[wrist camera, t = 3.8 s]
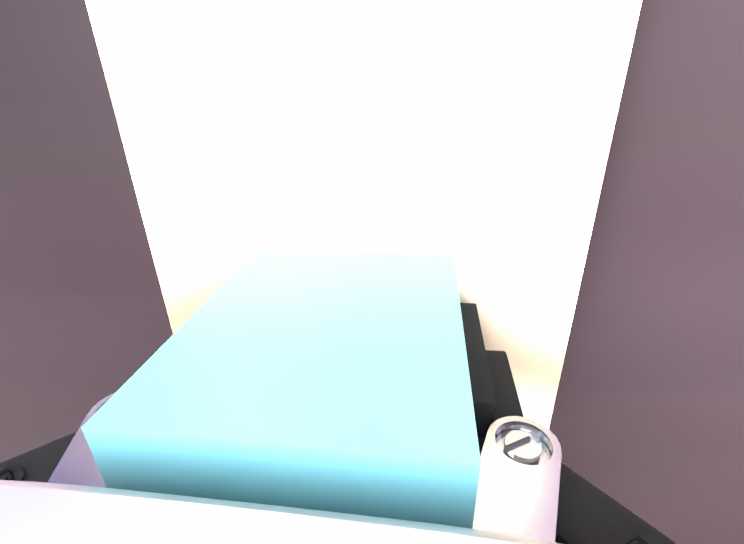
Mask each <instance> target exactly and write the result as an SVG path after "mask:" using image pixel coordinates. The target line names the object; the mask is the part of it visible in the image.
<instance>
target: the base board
mask: <svg viewBox="0 0 744 544" xmlns="http://www.w3.org/2000/svg"><path fill="white" fill-rule="evenodd" d="M85 2H86V6H87V10H88V14H89V17H90V21H91V25H92V29H93V33H94V36H95V40H96V44H97V48H98V51H99V55H100V59H101V63H102V67H103V70H104V74H105V78H106V82H107V86H108V89H109V93H110V97H111V101H112V105H113V108H114V112H115V116H116V120H117V124H118V127H119V131H120V135H121V139H122V142H123V146H124V150H125V154H126V158H127V161H128V165H129V169H130V173H131V177H132V180H133V184H134V188H135V192H136V196H137V199H138V203H139V207H140V211H141V215H142V218H143V222H144V226H145V230H146V234H147V237H148V241H149V245H150V249H151V252H152V256H153V260H154V264H155V268H156V271H157V275H158V279H159V283H160V287H161V290H162V294H163V298H164V302H165V306H166V309H167V313H168V317H169V321H170V325H171V328H172V332H173V334H174V333H175V332H176V331H177V330H178V329H179V328H180V327H181V326H182V325H183V324H184V323H185V322H186V321H187V320H188V319H189V318H190V317H191V316H192V315H193V314H194V313H195V312H196V311H197V310H198V309H199V308H200V307H201V306H202V305H203V304H204V303H205V302H206V301H207V300H208V299H209V298H210V297H211V296H212V295H213V294H214V293H215V292H216V291H217V290H218V289H219V288H220V287H221V286H222V285H223V284H224V283H225V282H226V281H227V280H228V279H229V278H230V277H231V276H232V275H233V274H234V273H235V272H236V271H237V270H238V268H239V267H240V266H241V265H242V264H243V263H244V262H245V261H246V260H247V259H248V258H249V257H250V256H251V255H252V254H253V253H254V252H255V251H256V250H257V249H280V250H312V251H345V252H377V253H409V254H441V255H454V261H455V269H456V277H457V284H458V292H459V299H460V303H476V305H477V310H478V315H479V320H480V325H481V330H482V335H483V340H484V345H485V350H497V351H505V352H506V354H507V357H508V361H509V365H510V368H511V372H512V376H513V379H514V383H515V387H516V390H517V394H518V398H519V401H520V405H521V409H522V412H523V416H524V417H526V418H529V419H532V420H534V421H537V422H539V423H541V424H542V425H544V426H545V427H547V428H548V429H549V426H550V421H551V417H552V412H553V408H554V403H555V399H556V394H557V389H558V385H559V380H560V376H561V371H562V366H563V362H564V357H565V353H566V348H567V343H568V339H569V334H570V330H571V325H572V320H573V316H574V311H575V307H576V302H577V298H578V293H579V288H580V284H581V279H582V275H583V270H584V265H585V261H586V256H587V252H588V247H589V242H590V238H591V233H592V229H593V224H594V220H595V215H596V210H597V206H598V201H599V197H600V192H601V187H602V183H603V178H604V174H605V169H606V164H607V160H608V155H609V151H610V146H611V141H612V137H613V132H614V128H615V123H616V119H617V114H618V109H619V105H620V100H621V96H622V91H623V86H624V82H625V77H626V73H627V68H628V63H629V59H630V54H631V50H632V45H633V41H634V36H635V31H636V27H637V22H638V18H639V13H640V8H641V4H642V0H85Z"/></svg>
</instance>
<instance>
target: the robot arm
mask: <svg viewBox="0 0 744 544" xmlns="http://www.w3.org/2000/svg"><path fill="white" fill-rule="evenodd" d="M460 307H461V315H462V322H463V330H464V338H465V345H466V353H467V361H468V368H469V376H470V383H471V391H472V399H473V406H474V414H475V422H476V429H477V437H478V444H479V452H480V460H481V467H480V475H479V483H478V490H477V498H476V506H475V513H474V521H473V529H472V528H464V527H457V526H449V525H441V524H434V523H426V522H417V521H408V520H399V519H391V518H382V517H373V516H364V515H356V514H347V513H338V512H330V511H321V510H312V509H303V508H294V507H284V506H275V505H266V504H257V503H248V502H239V501H229V500H220V499H211V498H201V497H192V496H182V495H173V494H163V493H153V492H143V491H133V490H124V489H114V488H106V485H105V483H104V481H103V478H102V476H101V473H100V471H99V469H98V466H97V464H96V462H95V459H94V457H93V455H92V452H91V450H90V447H89V445H88V443H87V440H86V438H85V436H84V433H83V431H82V429H81V427H82V426H83V425H84V424H85V423H86V422H87V421H88V420H89V419H90V418H91V417H92V416H93V415H94V414H95V413H96V412H97V411H98V410H99V409H100V408H101V407H102V406H103V405H104V404H105V403H106V402H107V401H108V400H109V399H110V398H111V397H112V396H113V395H114V394H115V393H116V392H115V393H113V394H110V395H109V396H107V397H105V398H103V399H102V400H100V401H99V402H98V403H97V404H95V405H94V406H93V407H92V408H91V410H90V411H89V412H88V413H87V415H86V417H85V419H84V420H83V422H82V424H81V425H80V427H79V429H78V431H77V432H75V433H73V434H70V435H68V436H66V437H63V438H61V439H58V440H56V441H53V442H51V443H49V444H46V445H44V446H41V447H39V448H36V449H34V450H31V451H29V452H27V453H24V454H22V455H19V456H17V457H14V458H12V459H10V460H7V461H5V462H2V463H0V544H675V543H674V542H673V541H672V540H670V539H669V538H668V537H666V536H665V535H663V534H662V533H661V532H659V531H658V530H656V529H655V528H653V527H652V526H651V525H649V524H648V523H646V522H645V521H643V520H642V519H641V518H639V517H638V516H636V515H635V514H633V513H632V512H631V511H629V510H628V509H626V508H625V507H623V506H622V505H621V504H619V503H618V502H616V501H615V500H613V499H612V498H611V497H609V496H608V495H606V494H605V493H603V492H602V491H600V490H599V489H598V488H596V487H595V486H593V485H592V484H590V483H589V482H588V481H586V480H585V479H583V478H582V477H580V476H579V475H578V474H576V473H575V472H573V471H572V470H570V469H569V468H568V467H566V466H565V465H563V464H562V463H561V457H562V452H561V445H560V443H559V441H558V439H557V438H556V436H555V435H554V434H553V433H552V432H551V431H550V430H549V429H548V428H547V427H545V426H544V425H542V424H541V423H539V422H537V421H534V420H532V419H529V418H526V417H524V416H523V412H522V409H521V405H520V401H519V398H518V394H517V390H516V387H515V383H514V379H513V376H512V372H511V368H510V365H509V361H508V357H507V354H506V352H505V351H497V350H485V345H484V340H483V335H482V330H481V325H480V320H479V315H478V310H477V305H476V303H460Z"/></svg>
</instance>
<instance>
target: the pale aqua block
mask: <svg viewBox="0 0 744 544" xmlns="http://www.w3.org/2000/svg"><path fill="white" fill-rule="evenodd" d="M81 429H82V431H83V433H84V436H85V438H86V440H87V443H88V445H89V447H90V450H91V452H92V455H93V457H94V459H95V462H96V464H97V466H98V469H99V471H100V473H101V476H102V478H103V481H104V483H105V485H106V488H114V489H124V490H133V491H143V492H153V493H163V494H173V495H182V496H192V497H201V498H211V499H220V500H229V501H239V502H248V503H257V504H266V505H275V506H284V507H294V508H303V509H312V510H321V511H330V512H338V513H347V514H356V515H364V516H373V517H382V518H391V519H399V520H408V521H417V522H426V523H434V524H441V525H449V526H457V527H464V528H472V529H473V521H474V513H475V506H476V498H477V490H478V483H479V475H480V467H481V460H480V452H479V444H478V437H477V429H476V422H475V414H474V406H473V399H472V391H471V383H470V376H469V368H468V361H467V353H466V345H465V338H464V330H463V322H462V315H461V307H460V299H459V292H458V284H457V277H456V269H455V261H454V255H441V254H409V253H377V252H345V251H312V250H280V249H257V250H256V251H255V252H254V253H253V254H252V255H251V256H250V257H249V258H248V259H247V260H246V261H245V262H244V263H243V264H242V265H241V266H240V267H239V268H238V270H237V271H236V272H235V273H234V274H233V275H232V276H231V277H230V278H229V279H228V280H227V281H226V282H225V283H224V284H223V285H222V286H221V287H220V288H219V289H218V290H217V291H216V292H215V293H214V294H213V295H212V296H211V297H210V298H209V299H208V300H207V301H206V302H205V303H204V304H203V305H202V306H201V307H200V308H199V309H198V310H197V311H196V312H195V313H194V314H193V315H192V316H191V317H190V318H189V319H188V320H187V321H186V322H185V323H184V324H183V325H182V326H181V327H180V328H179V329H178V330H177V331H176V332H175V333H174V334H173V335H172V336H171V337H170V338H169V339H168V340H167V341H166V342H165V343H164V344H163V345H162V346H161V347H160V348H159V349H158V350H157V351H156V352H155V353H154V354H153V355H152V356H151V357H150V358H149V359H148V360H147V361H146V362H145V363H144V364H143V365H142V366H141V367H140V369H139V370H138V371H137V372H136V373H135V374H134V375H133V376H132V377H131V378H130V379H129V380H128V381H127V382H126V383H125V384H124V385H123V386H122V387H121V388H120V389H119V390H118V391H117V392H116V393H115V394H114V395H113V396H112V397H111V398H110V399H109V400H108V401H107V402H106V403H105V404H104V405H103V406H102V407H101V408H100V409H99V410H98V411H97V412H96V413H95V414H94V415H93V416H92V417H91V418H90V419H89V420H88V421H87V422H86V423H85V424H84V425H83V426H82V427H81Z"/></svg>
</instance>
